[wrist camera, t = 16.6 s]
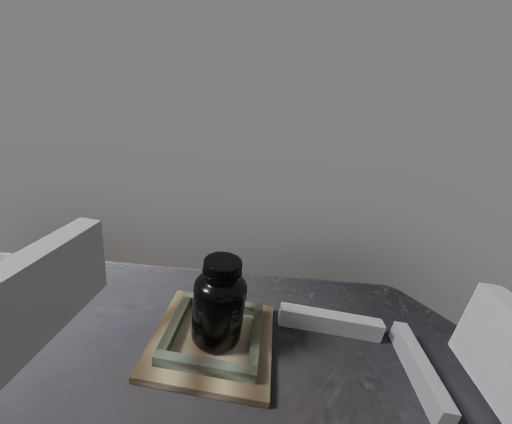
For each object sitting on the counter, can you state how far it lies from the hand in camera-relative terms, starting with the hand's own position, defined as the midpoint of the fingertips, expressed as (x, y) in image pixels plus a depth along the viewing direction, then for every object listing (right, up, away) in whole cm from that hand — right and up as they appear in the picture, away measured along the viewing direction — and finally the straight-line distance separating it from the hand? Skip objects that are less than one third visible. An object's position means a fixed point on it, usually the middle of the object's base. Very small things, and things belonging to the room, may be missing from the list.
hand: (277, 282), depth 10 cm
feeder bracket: (+12, -19, +28) cm, 36 cm away
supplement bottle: (-6, -15, +28) cm, 33 cm away
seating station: (-7, -15, +29) cm, 33 cm away
